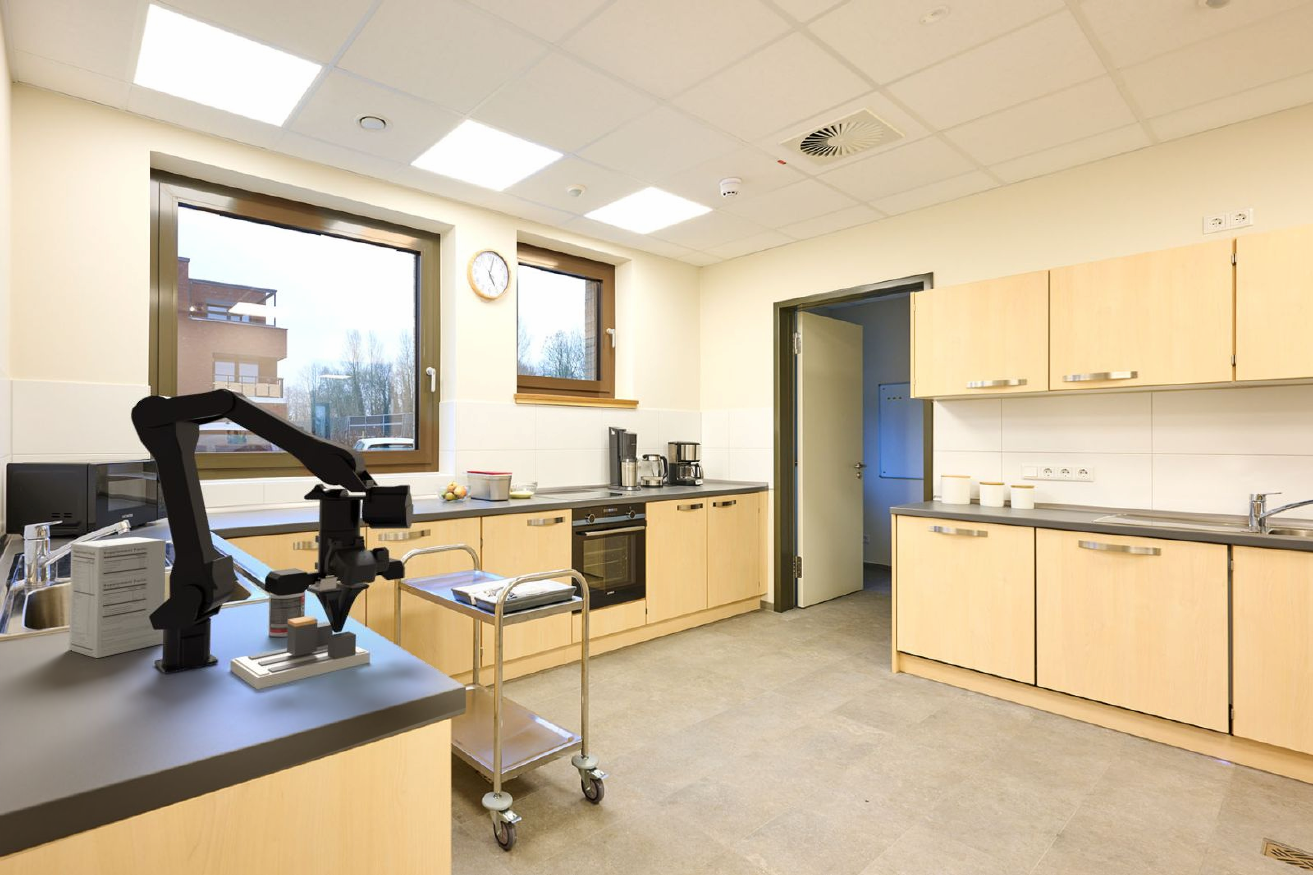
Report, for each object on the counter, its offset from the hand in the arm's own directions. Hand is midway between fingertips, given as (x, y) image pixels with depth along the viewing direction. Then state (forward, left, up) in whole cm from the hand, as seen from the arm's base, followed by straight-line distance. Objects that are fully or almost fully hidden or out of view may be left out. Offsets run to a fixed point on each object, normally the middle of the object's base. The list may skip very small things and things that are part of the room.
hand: (337, 632), depth 99 cm
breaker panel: (0, -5, -4) cm, 6 cm away
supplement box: (-31, -21, -4) cm, 38 cm away
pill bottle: (-20, 0, -4) cm, 20 cm away
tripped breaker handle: (0, -5, -2) cm, 5 cm away
